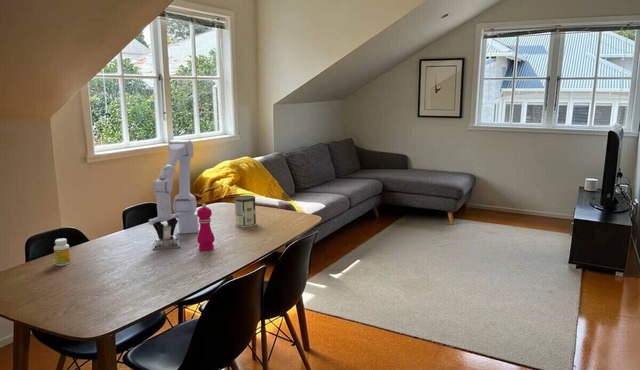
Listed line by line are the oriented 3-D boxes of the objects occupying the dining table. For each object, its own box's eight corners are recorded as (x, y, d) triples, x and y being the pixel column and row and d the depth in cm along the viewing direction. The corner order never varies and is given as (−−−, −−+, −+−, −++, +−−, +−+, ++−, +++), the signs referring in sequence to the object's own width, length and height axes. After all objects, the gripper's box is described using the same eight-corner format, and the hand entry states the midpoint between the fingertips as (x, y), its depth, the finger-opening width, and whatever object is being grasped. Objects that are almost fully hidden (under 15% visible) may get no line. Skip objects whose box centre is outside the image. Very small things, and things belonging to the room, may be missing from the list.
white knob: (168, 238, 215) (168, 223, 214) (173, 241, 212) (173, 226, 210) (157, 240, 212) (157, 225, 211) (162, 243, 209) (162, 228, 207)
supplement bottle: (55, 266, 187) (52, 242, 185) (55, 262, 191) (52, 238, 190) (71, 264, 189) (68, 240, 187) (70, 260, 194) (68, 237, 192)
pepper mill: (218, 247, 208) (216, 202, 204) (207, 252, 202) (205, 206, 198) (204, 245, 211) (202, 201, 207) (194, 250, 205) (191, 204, 201)
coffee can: (244, 220, 251) (243, 194, 248) (260, 223, 246) (259, 196, 243) (231, 225, 243) (230, 198, 240) (246, 228, 237) (245, 200, 235)
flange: (179, 240, 219) (179, 233, 218) (179, 247, 208) (179, 240, 208) (154, 242, 216) (153, 235, 215) (152, 250, 206) (152, 243, 205)
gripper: (172, 202, 217) (174, 231, 219) (143, 208, 206) (146, 239, 208) (182, 204, 213) (184, 234, 215) (153, 211, 201) (155, 242, 204)
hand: (166, 237), depth 211 cm, fingers closed on white knob, 5 cm apart
